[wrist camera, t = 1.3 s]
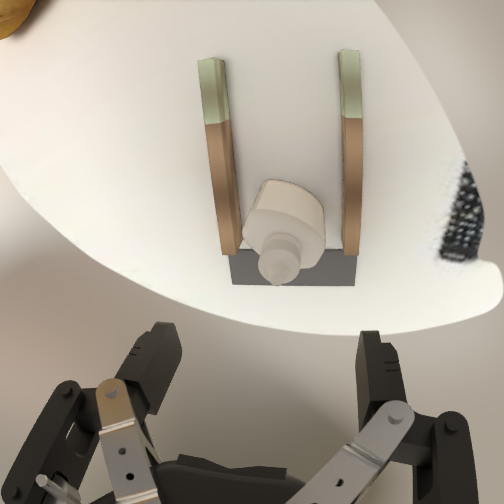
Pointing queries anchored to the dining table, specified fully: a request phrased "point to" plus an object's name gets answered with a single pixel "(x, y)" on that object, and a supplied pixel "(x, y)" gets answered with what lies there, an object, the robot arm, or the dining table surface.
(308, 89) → the dining table surface
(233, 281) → the plate
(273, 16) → the dining table surface
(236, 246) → the walnut channel
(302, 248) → the eye dropper bottle
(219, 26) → the dining table surface
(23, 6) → the potato
